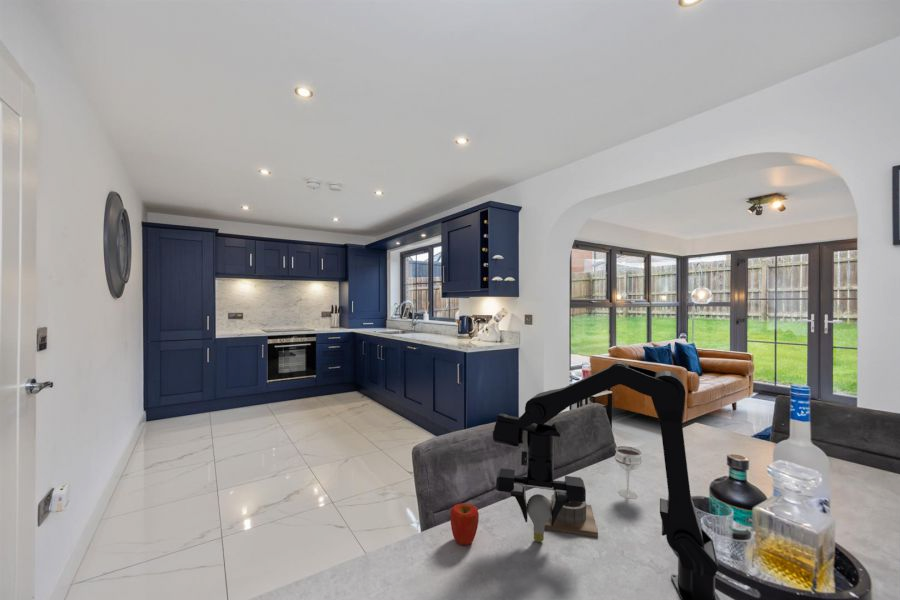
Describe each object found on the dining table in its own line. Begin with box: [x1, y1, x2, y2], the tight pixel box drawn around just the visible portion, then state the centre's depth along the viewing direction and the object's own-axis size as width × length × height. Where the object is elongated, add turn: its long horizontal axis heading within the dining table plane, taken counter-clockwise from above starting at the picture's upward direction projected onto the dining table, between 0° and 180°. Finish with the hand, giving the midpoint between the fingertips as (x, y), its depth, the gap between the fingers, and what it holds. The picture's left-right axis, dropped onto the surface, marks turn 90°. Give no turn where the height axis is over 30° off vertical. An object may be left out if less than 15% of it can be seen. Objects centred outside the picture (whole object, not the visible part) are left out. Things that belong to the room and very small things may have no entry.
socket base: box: [544, 493, 599, 538], centre depth 93 cm, size 12×12×4 cm
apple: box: [449, 502, 480, 546], centre depth 83 cm, size 6×6×8 cm
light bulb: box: [526, 493, 552, 543], centre depth 84 cm, size 6×6×10 cm
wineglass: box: [614, 445, 643, 499], centre depth 105 cm, size 7×7×12 cm
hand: (539, 522), depth 84 cm, fingers closed on light bulb, 5 cm apart
